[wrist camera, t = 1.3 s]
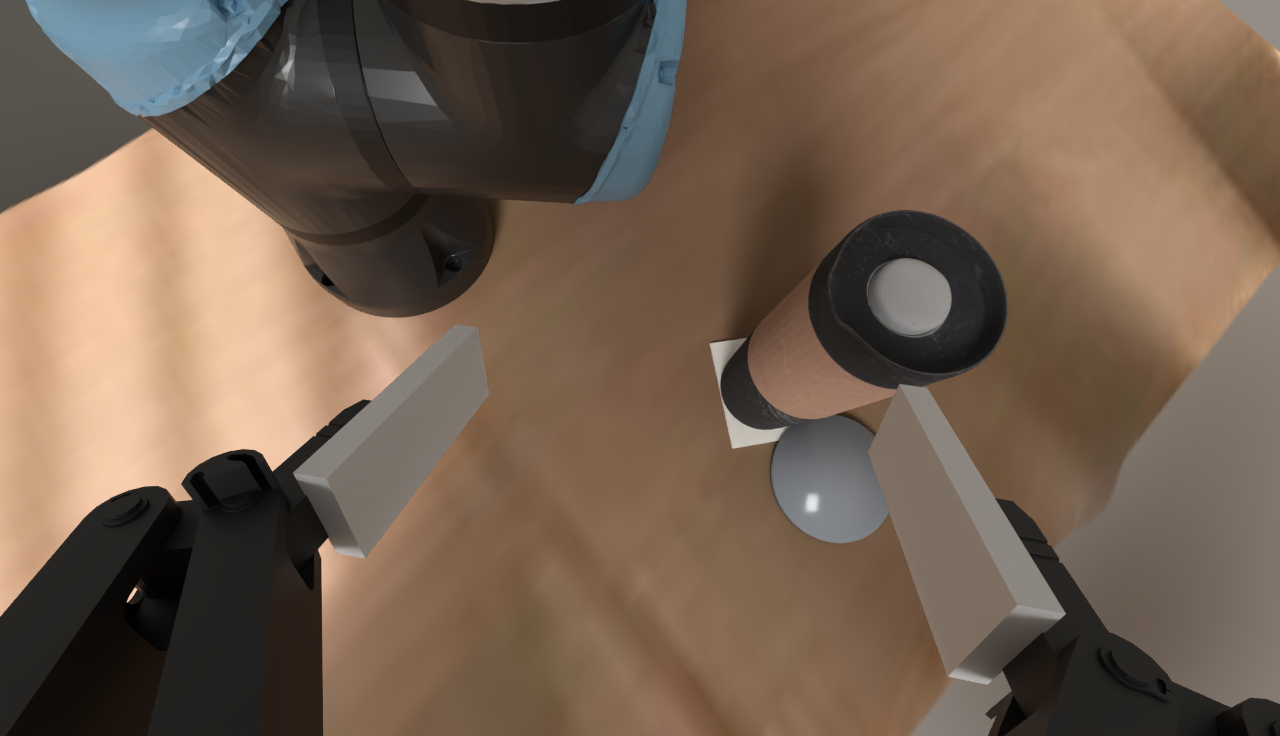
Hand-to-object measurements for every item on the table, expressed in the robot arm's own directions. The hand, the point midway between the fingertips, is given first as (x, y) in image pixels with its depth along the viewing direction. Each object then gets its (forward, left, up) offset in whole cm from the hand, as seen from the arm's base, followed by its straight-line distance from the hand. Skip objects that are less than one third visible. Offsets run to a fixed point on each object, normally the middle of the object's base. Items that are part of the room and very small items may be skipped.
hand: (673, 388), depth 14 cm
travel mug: (-3, +11, -22) cm, 25 cm away
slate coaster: (+5, +15, -22) cm, 28 cm away
